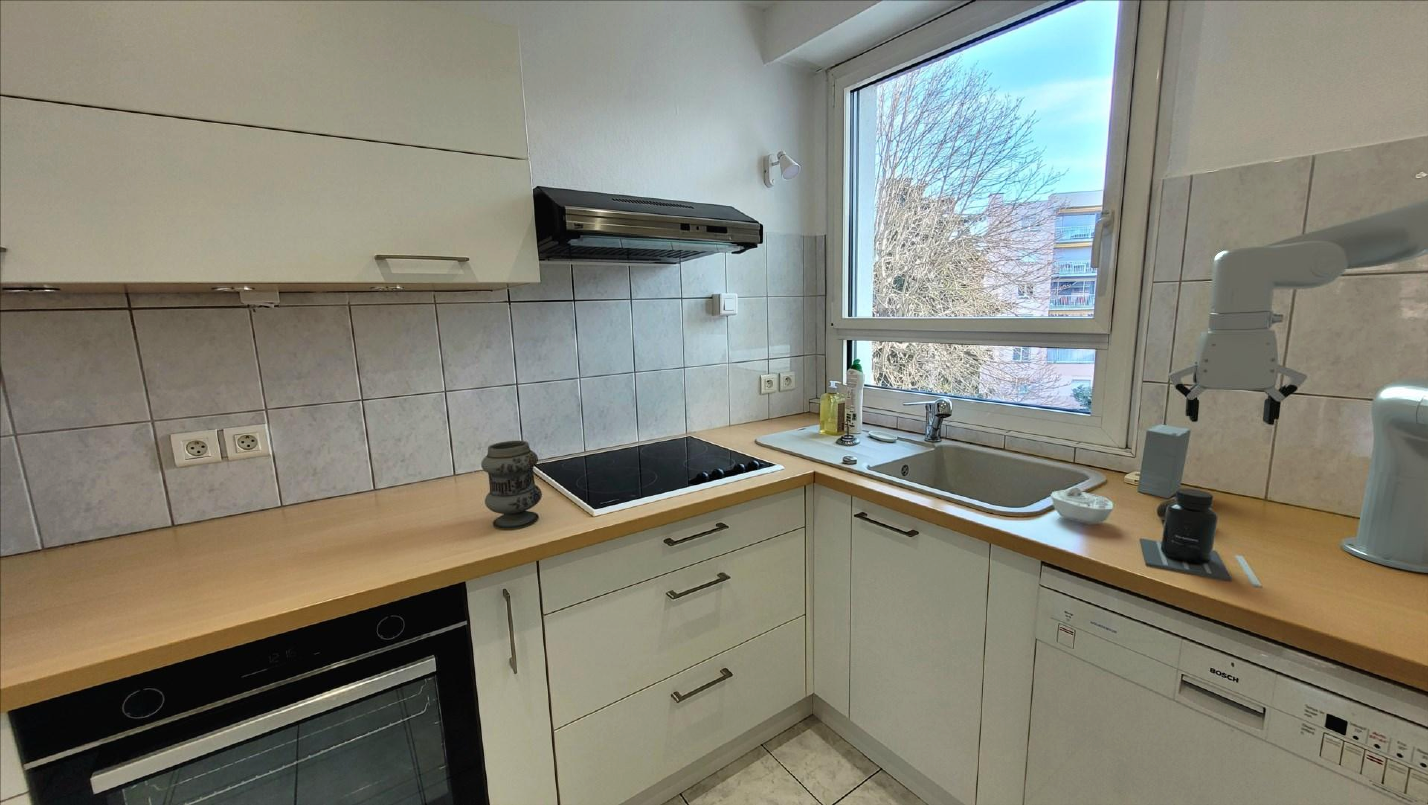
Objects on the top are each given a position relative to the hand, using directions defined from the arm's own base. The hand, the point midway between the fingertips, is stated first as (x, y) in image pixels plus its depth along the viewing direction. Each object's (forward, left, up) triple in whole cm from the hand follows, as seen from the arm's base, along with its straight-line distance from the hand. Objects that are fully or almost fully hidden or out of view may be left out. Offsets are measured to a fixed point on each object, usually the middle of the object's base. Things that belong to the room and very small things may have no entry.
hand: (1229, 421), depth 94 cm
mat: (+5, +6, -25) cm, 26 cm away
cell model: (+20, -6, -25) cm, 32 cm away
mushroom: (+3, -15, -25) cm, 29 cm away
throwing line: (-4, +6, -25) cm, 25 cm away
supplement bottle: (+4, +6, -24) cm, 25 cm away
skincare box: (+4, -36, -25) cm, 44 cm away
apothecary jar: (+126, +56, -25) cm, 140 cm away
